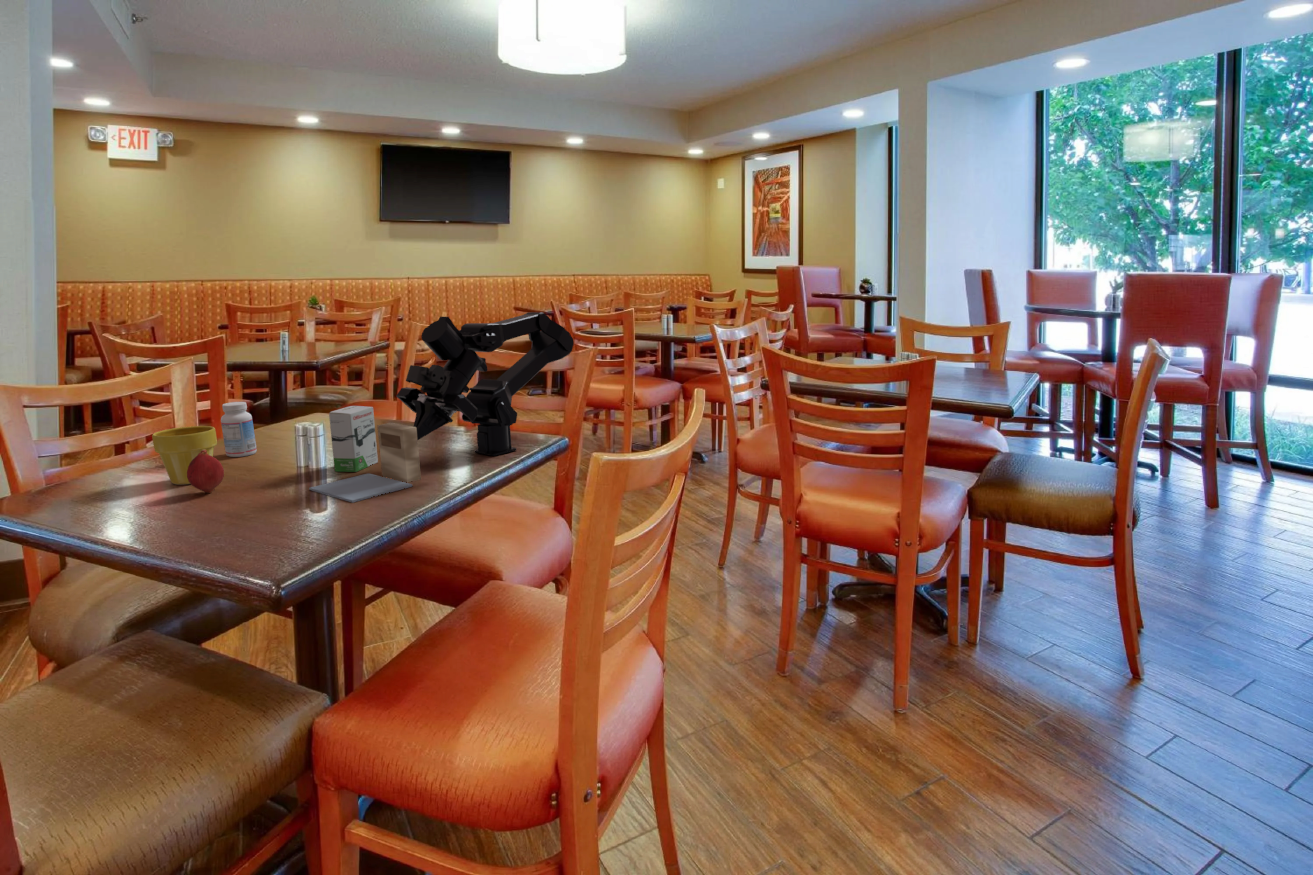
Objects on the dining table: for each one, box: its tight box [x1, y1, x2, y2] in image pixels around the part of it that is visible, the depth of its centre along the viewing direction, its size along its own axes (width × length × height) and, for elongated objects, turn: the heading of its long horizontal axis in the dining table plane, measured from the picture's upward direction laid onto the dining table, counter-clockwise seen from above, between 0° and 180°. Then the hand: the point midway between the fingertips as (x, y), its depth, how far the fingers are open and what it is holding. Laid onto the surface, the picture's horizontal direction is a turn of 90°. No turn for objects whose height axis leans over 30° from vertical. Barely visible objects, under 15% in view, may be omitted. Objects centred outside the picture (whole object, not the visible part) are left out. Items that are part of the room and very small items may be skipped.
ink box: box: [328, 405, 379, 473], centre depth 160 cm, size 9×5×12 cm, turn 168°
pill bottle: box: [220, 401, 258, 458], centre depth 173 cm, size 6×6×11 cm
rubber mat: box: [309, 472, 413, 503], centre depth 146 cm, size 12×14×1 cm
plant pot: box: [151, 425, 218, 486], centre depth 153 cm, size 10×10×10 cm
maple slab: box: [376, 422, 422, 483], centre depth 151 cm, size 3×8×10 cm, turn 52°
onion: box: [187, 449, 225, 494], centre depth 144 cm, size 6×6×8 cm
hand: (413, 439), depth 153 cm, fingers closed
